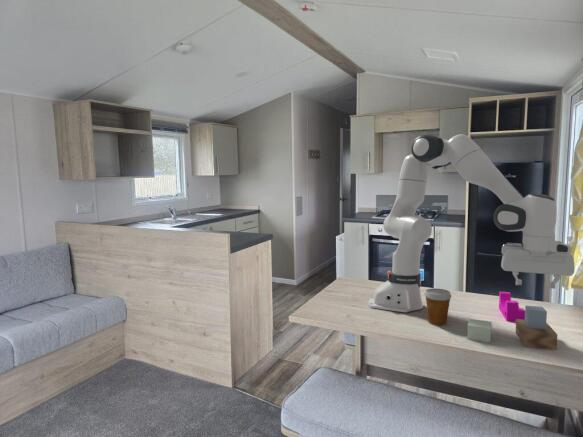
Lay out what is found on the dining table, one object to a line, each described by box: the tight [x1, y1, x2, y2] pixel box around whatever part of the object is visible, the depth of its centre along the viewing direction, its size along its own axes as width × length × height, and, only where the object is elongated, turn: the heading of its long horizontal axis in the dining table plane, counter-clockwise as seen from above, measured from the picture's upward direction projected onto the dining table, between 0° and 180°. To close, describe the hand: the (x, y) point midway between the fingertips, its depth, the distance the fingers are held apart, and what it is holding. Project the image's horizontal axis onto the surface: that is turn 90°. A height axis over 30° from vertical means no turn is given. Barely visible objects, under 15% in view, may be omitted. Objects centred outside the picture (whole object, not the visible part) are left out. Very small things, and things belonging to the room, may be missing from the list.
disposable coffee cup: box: [424, 287, 452, 326], centre depth 150 cm, size 10×10×12 cm
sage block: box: [466, 318, 492, 344], centre depth 136 cm, size 7×7×5 cm
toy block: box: [498, 291, 525, 323], centre depth 157 cm, size 15×6×8 cm, turn 163°
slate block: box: [524, 305, 548, 329], centre depth 132 cm, size 5×5×6 cm
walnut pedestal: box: [515, 319, 558, 351], centre depth 132 cm, size 9×12×5 cm
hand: (534, 286), depth 130 cm, fingers open, 8 cm apart
